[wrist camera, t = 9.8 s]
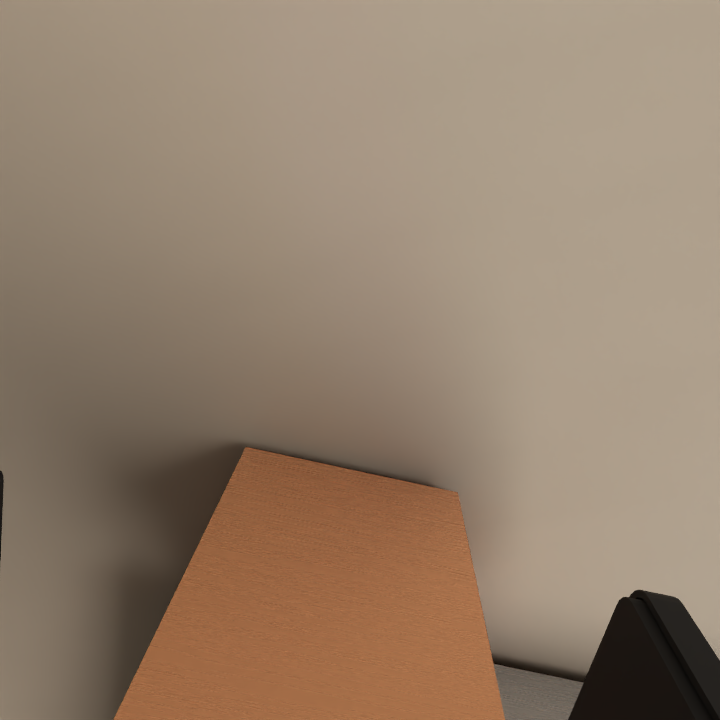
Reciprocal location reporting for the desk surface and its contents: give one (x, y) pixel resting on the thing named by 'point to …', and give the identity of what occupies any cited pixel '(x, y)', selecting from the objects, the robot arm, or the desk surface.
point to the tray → (332, 610)
